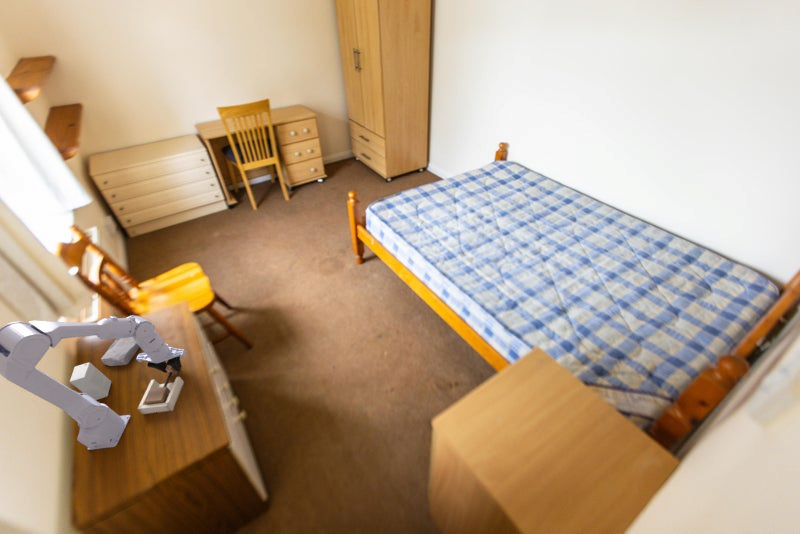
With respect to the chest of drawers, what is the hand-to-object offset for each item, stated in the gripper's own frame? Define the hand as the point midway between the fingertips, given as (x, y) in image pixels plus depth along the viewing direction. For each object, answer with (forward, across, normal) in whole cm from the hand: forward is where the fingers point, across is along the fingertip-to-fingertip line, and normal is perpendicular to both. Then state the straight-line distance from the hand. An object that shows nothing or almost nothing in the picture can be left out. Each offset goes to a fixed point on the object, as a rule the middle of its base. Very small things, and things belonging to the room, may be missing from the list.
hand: (173, 369), depth 119 cm
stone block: (+2, +23, -11) cm, 25 cm away
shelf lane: (+2, 0, +9) cm, 9 cm away
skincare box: (+2, +22, +4) cm, 23 cm away
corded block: (+1, 0, +6) cm, 6 cm away
